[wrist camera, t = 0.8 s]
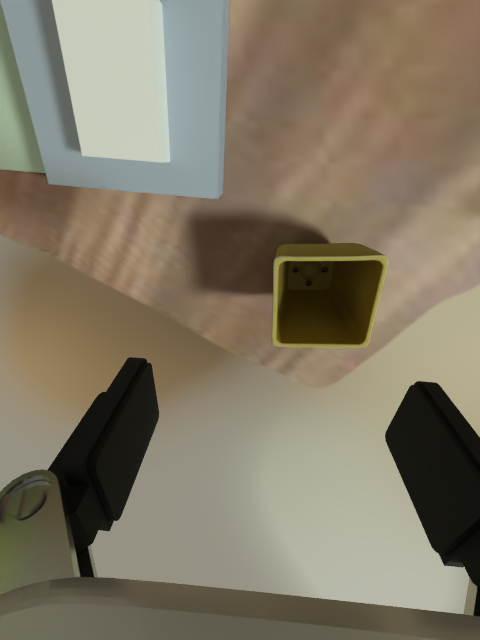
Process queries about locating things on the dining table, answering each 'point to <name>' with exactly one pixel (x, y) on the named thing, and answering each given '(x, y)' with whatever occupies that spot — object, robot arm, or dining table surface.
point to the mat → (15, 113)
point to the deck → (182, 101)
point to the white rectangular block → (116, 76)
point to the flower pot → (326, 294)
